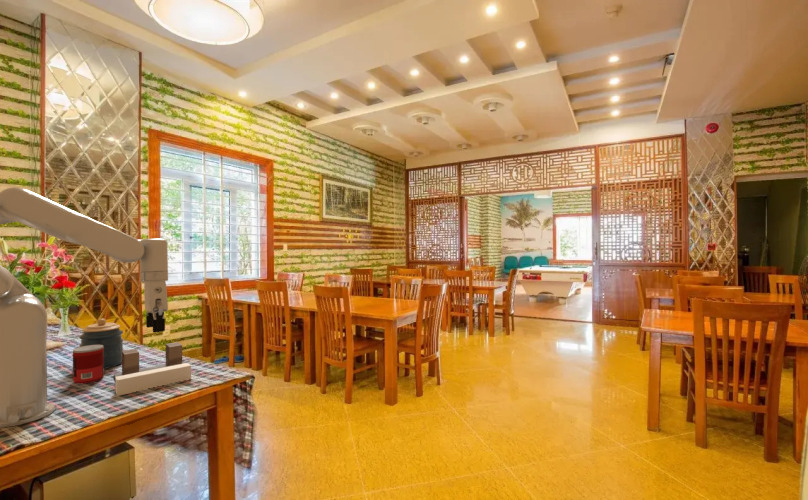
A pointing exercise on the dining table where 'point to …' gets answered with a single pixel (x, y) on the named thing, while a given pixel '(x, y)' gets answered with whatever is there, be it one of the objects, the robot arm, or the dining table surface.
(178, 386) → the dining table surface
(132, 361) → the post stand
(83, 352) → the canned food
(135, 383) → the shelf board
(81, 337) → the canister
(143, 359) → the dining table surface
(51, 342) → the dining table surface
